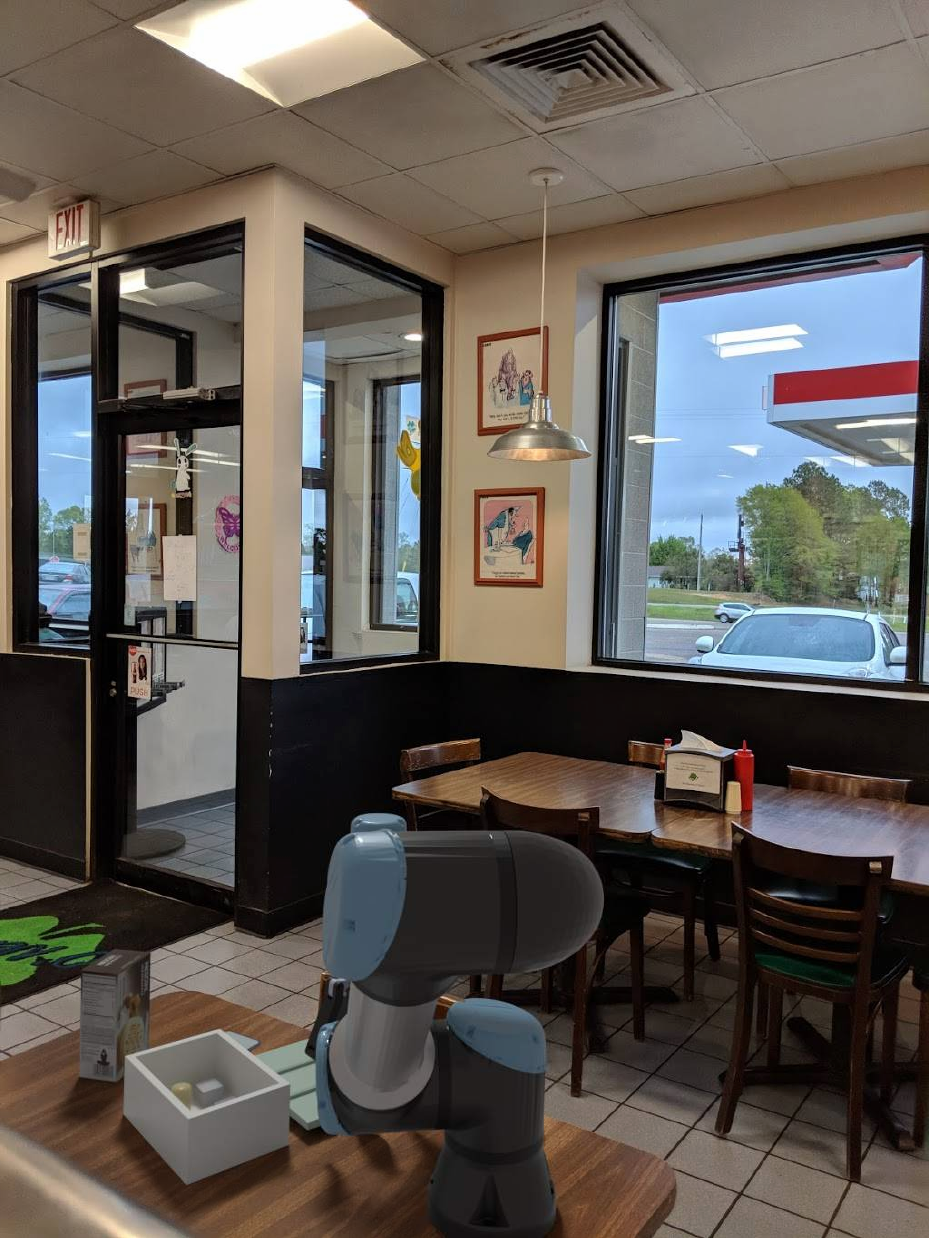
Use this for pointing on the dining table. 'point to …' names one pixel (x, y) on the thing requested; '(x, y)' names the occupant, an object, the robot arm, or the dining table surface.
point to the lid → (296, 1080)
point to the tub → (206, 1104)
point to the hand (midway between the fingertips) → (370, 1092)
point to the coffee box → (113, 1013)
